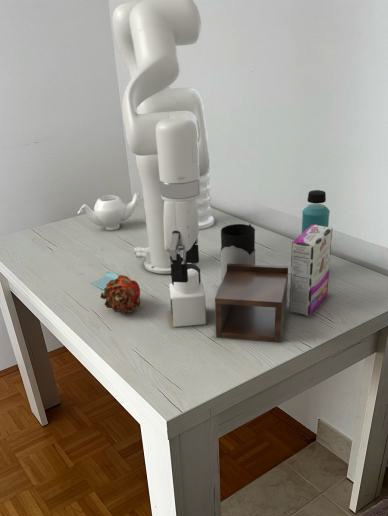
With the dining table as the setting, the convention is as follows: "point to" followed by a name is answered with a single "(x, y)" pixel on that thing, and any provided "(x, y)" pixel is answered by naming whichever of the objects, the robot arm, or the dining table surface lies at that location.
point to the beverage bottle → (315, 210)
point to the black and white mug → (237, 246)
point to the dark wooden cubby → (252, 302)
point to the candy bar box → (310, 269)
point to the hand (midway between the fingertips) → (186, 271)
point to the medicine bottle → (188, 300)
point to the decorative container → (204, 203)
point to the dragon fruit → (122, 294)
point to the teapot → (110, 211)
